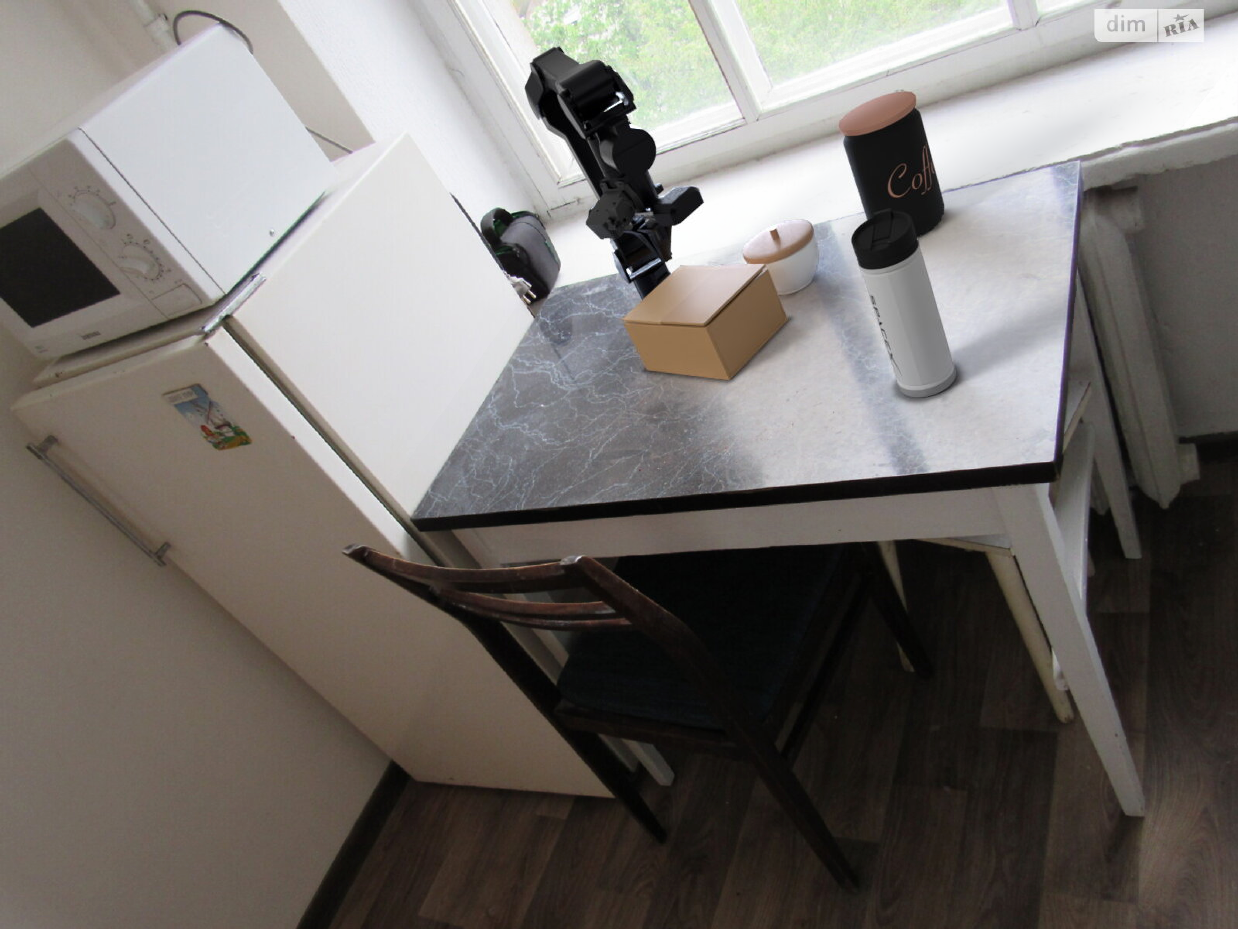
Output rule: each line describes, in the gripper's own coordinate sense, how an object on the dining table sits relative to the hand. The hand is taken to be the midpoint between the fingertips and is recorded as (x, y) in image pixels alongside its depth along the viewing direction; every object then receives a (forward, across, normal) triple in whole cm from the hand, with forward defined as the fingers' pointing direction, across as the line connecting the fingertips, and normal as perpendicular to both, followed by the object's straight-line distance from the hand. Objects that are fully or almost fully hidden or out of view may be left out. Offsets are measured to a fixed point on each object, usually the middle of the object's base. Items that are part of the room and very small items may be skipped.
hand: (666, 260), depth 125 cm
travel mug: (+12, +42, -6) cm, 44 cm away
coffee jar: (+13, +20, +28) cm, 37 cm away
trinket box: (+13, +9, +13) cm, 20 cm away
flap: (+4, +1, -3) cm, 5 cm away
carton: (+13, +6, -3) cm, 14 cm away
